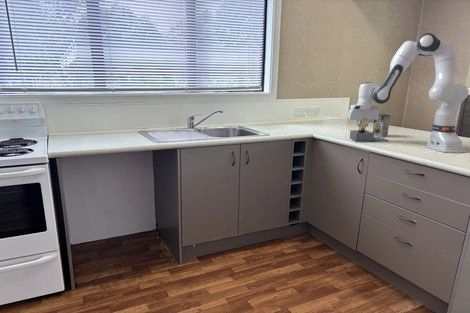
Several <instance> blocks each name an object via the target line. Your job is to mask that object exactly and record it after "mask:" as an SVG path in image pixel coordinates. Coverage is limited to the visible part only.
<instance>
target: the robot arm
mask: <svg viewBox="0 0 470 313" xmlns="http://www.w3.org/2000/svg"><path fill="white" fill-rule="evenodd" d="M393 55H394V56H393V57H392V59H391V62H390V64H389V73H388V74H387V77H386V78H385V80H384V82H383V83H382V84H381V86H379V85H377V84H376V83H374V82H373V81H367V82H362V83H361V84H360V85H359V88H358V95H357V96H358V99H357V103H355V104H352V105H350V108H349V110H348V113H347V114H348V116H347V119H348V120H349V121H355V123H356V127H358V128H359V127H360V120H362V118H367V122H366V127H369V125H370V123H371V121H374V120H378V119H379V114H380V113H379V112H380V107H379V106H375V105H373V106H372V103H373V101H374V102H375V103H377V104H380V105H381V104H386V103H387V102H388V101H389V100H390V98H391V93H392V90H393V88H394V86H395V85H396V82H398V80H399V78H400V76H402V75H403V73H404V72H405V71H406V70H407V68H408V67H409V66H410V65H411V63H412V61H414V58H415V57H416V56H422V57H423V56H424V57H430V56H433V60H434V69H435V78H434V79H435V80H434V82H433V85H432V86H431V88H430V90H429V92H428V97H429V99H430V100H431V101H432V102H434V103H439V104H440V103H441V105H440V107H439V108H438V109H437V110H436V111H435V112H434V119H433V124H432V127H431V133H430V134H429V135H428V136H429V137H428V141H427V144H426V145H425V147H424V148H426V149H431V150H434V151H438V152H442V153H449V154H451V153H452V154H457V153H458V154H461V153H462V154H463V153H466V150H465V149H464V148H462V145H463V144H462V143H463V141H462V140H461V139H460V137H459V136H458V134H457V133H456V132H457V128H456V120H457V114H458V111H459V109H460V107H461V105H462V103H463V101H464V100H466V99H467V98H468V97H469V93H470V92H469V89H468V87H467V86H466V85H464V84H462V83H461V84H459V83H453V81H454V78H455V76H456V75H457V73H458V66H457V65H458V64H457V55H456V51H455V49H454V45H453V44H452V43H451V42H441V40H440V39H439V38H438V37H437V36H436V35H435V34H433V33H431V32H426V33H423V34H421V35H420V36H419V37H418V39H417V41H413V40H406V41H405V42H403V43H402V45H401V46H400V47H399V48H398V50H397V51H396V52H395V54H393ZM366 127H365V128H366Z"/></svg>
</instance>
